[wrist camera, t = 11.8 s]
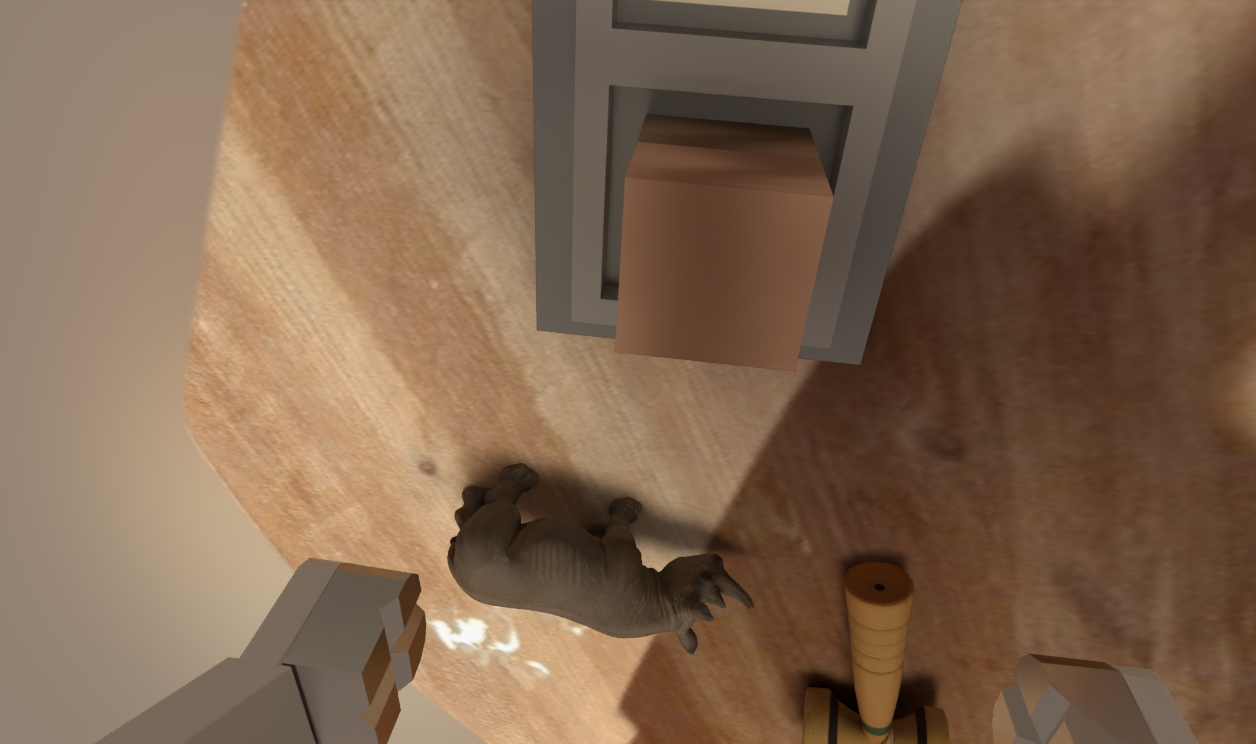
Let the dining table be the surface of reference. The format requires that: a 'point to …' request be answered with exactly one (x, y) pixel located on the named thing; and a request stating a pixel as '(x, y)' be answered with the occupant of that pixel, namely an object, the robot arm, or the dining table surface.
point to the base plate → (739, 92)
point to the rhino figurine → (580, 567)
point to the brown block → (720, 241)
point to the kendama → (874, 668)
